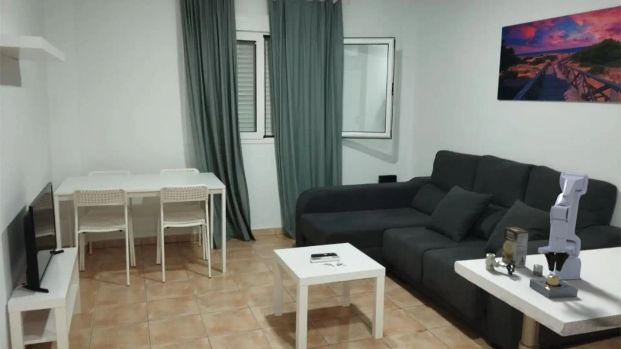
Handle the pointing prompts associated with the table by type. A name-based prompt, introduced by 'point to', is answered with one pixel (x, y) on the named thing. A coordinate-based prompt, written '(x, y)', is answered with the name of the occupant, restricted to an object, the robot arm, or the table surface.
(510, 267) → the valve
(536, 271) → the sleeve
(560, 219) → the robot arm
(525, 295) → the table surface
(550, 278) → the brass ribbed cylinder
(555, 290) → the plate
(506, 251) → the coffee box
